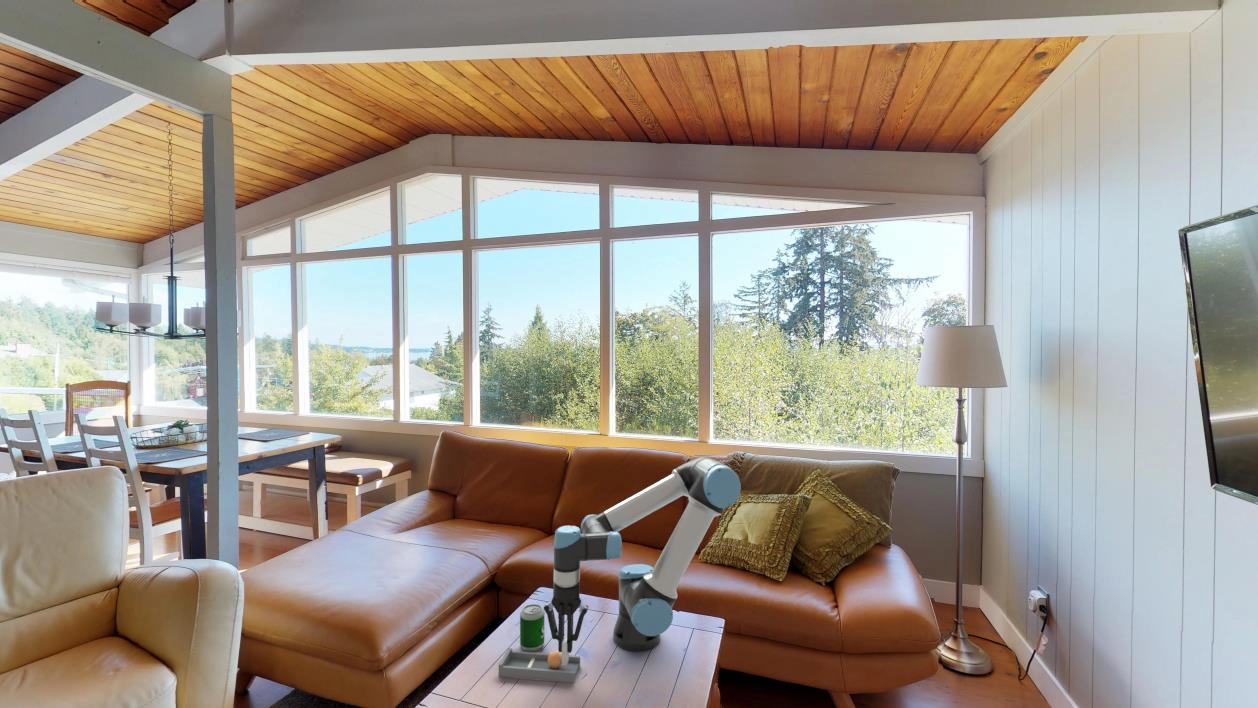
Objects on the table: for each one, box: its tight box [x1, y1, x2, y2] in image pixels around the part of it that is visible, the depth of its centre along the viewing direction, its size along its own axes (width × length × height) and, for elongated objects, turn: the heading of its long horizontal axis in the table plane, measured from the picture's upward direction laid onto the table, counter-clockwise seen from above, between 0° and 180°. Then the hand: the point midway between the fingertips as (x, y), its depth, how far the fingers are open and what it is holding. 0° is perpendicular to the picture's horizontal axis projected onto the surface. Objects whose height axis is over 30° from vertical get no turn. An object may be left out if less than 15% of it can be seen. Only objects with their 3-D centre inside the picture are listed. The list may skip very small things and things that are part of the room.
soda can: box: [519, 603, 545, 653], centre depth 169 cm, size 8×8×12 cm
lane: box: [498, 647, 581, 684], centre depth 157 cm, size 22×8×4 cm, turn 83°
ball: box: [548, 650, 562, 668], centre depth 156 cm, size 4×4×4 cm
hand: (565, 662), depth 156 cm, fingers closed
